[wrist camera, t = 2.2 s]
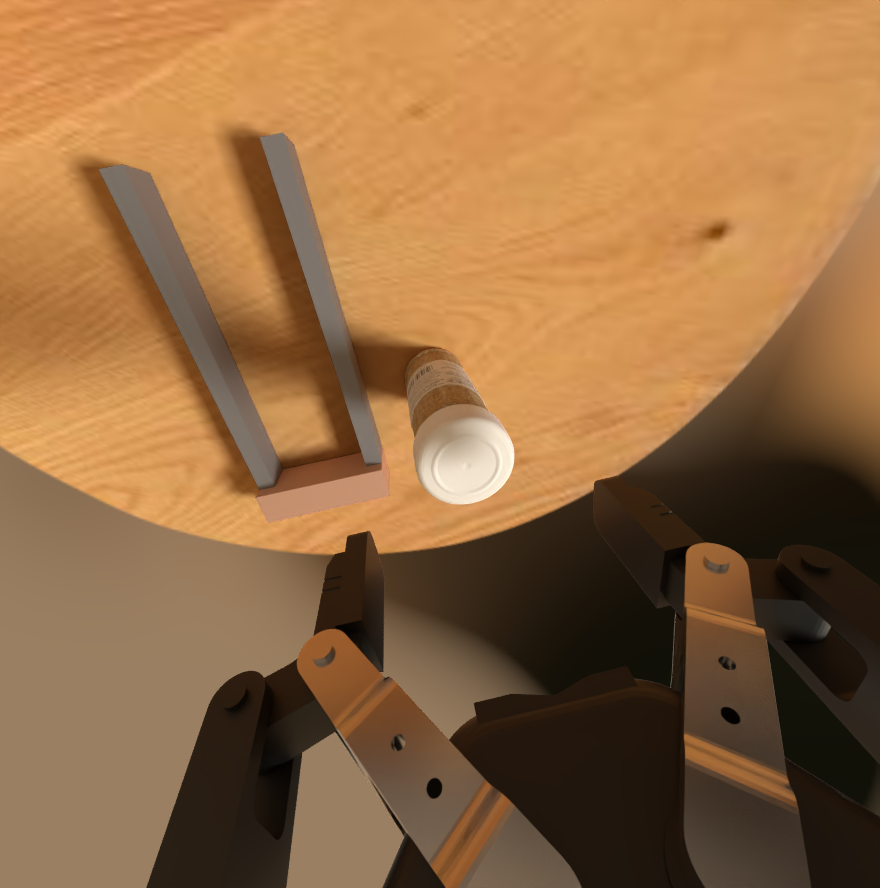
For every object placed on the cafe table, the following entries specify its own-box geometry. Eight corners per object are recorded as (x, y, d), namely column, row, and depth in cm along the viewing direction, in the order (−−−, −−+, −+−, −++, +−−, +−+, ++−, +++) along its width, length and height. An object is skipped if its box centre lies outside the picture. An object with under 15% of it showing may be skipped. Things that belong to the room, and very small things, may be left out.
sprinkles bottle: (425, 414, 30) (449, 524, 18) (391, 367, 28) (394, 456, 16) (474, 383, 29) (533, 476, 17) (444, 333, 27) (487, 399, 15)
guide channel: (128, 177, 21) (84, 165, 18) (294, 144, 21) (278, 127, 18) (279, 496, 32) (268, 522, 29) (389, 472, 32) (389, 496, 29)
